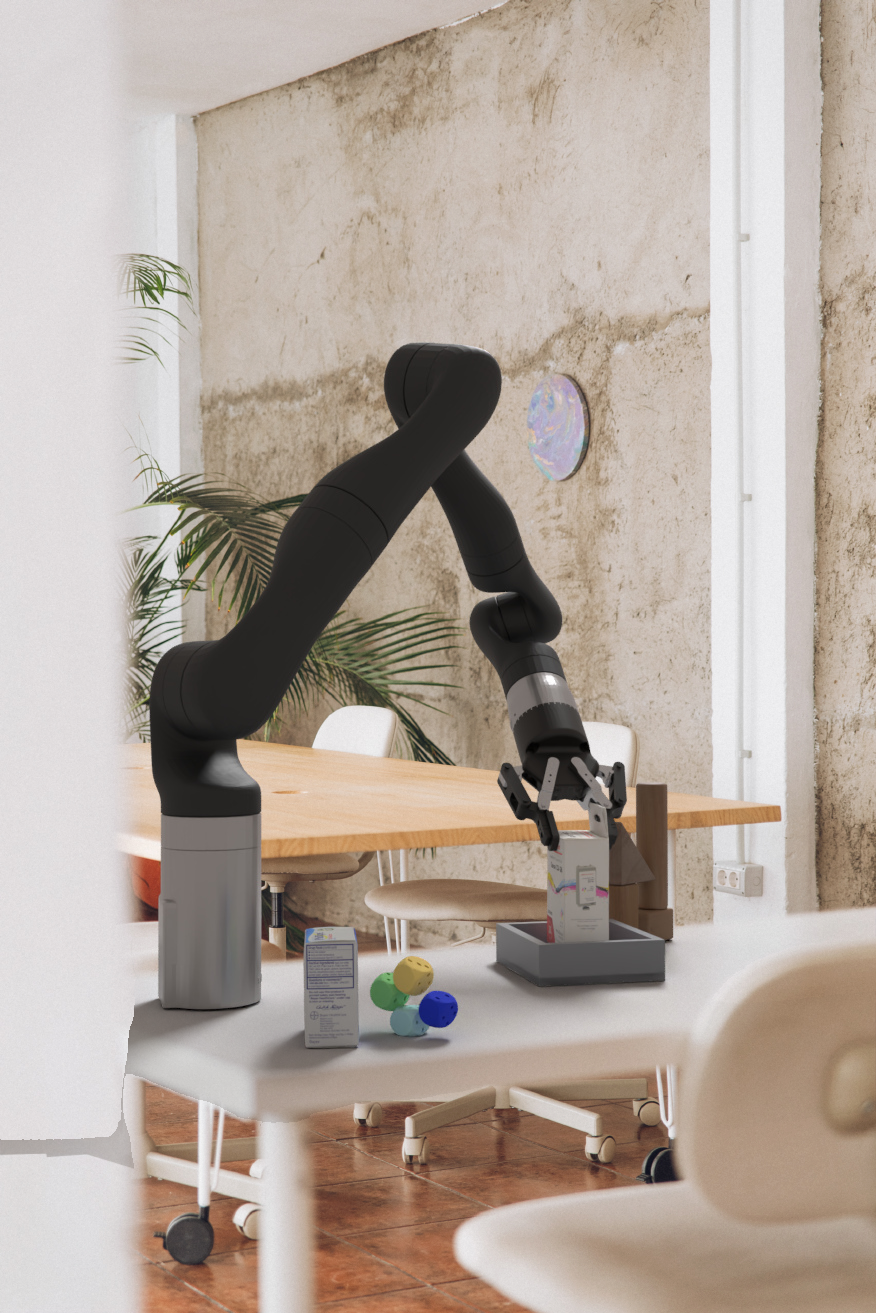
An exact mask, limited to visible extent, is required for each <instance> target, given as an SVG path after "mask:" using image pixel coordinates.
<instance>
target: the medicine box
mask: <svg viewBox="0 0 876 1313" xmlns="http://www.w3.org/2000/svg"><path fill="white" fill-rule="evenodd" d="M303 944H304V945H303V965H302V966H303V1012H304V1013H303V1018H304V1019H303V1021H304V1025H303V1026H304V1044H305V1047H306V1049H307V1048H308V1049H339V1048H341V1049H344V1048H358V1046H359V1045H360V1020H359V1019H360V1018H359V1016H360V1014H359V1013H360V1012H359V1008H360V1007H359V1006H360V1004H359V1001H360V1000H359V998H360V997H359V952H358V951H359V950H358V949H359V947H358V946H359V945H358V939H357V932H356V929H355V928H354V926H320V927H319V926H318V927H310V928H306V929H305V930H304V943H303Z"/></svg>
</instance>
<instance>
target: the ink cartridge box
mask: <svg viewBox="0 0 876 1313" xmlns="http://www.w3.org/2000/svg"><path fill="white" fill-rule="evenodd" d="M589 807H590V813H589V811H588V810H587V813H588V815H587V816H588V821H589V822H588V824H589V830H586V829H585V830H584V829H570V830H569V829H566V830H565V829H561V830H559V829H558V832H559V836H560V839H559V844H558V847H557V850H556V851H549V850H548V847H547V846H546V847H547V848H546V850H547V851H546V852H547V853H546V855H547V856H546V857H547V861H546V862H547V863H546V864H547V867H546V868H547V870H546V871H547V874H546V875H547V877H546V879H547V880H546V881H547V882H546V883H547V887H546V888H547V889H546V891H547V892H546V900H547V901H546V921H547V941H548V942H549V943H560V942H584V941H608V940H609V837H608V825H607V813H606V808H605V807H602V806H600V805H597V804H595V803H591V802H590V803H589ZM595 815H598V816H599V817H600V822H598V821H596V819H595Z"/></svg>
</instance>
